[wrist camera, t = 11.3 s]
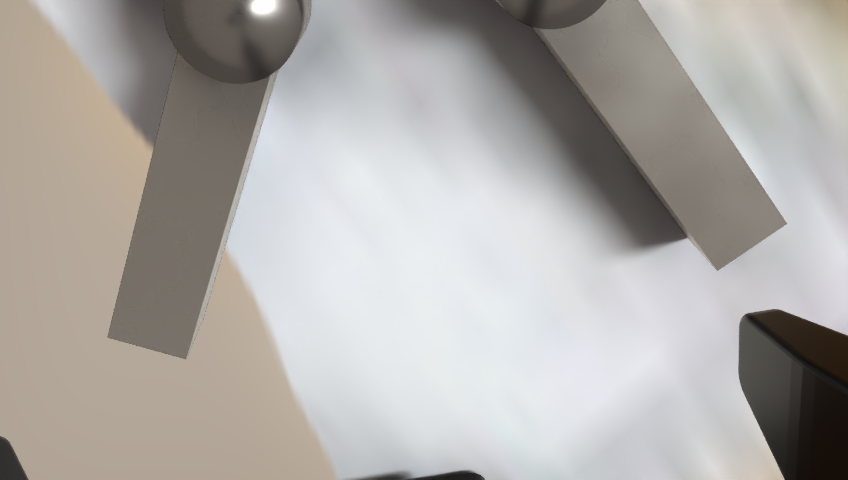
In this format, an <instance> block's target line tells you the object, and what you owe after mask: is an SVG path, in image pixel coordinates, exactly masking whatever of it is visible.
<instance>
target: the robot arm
mask: <svg viewBox="0 0 848 480" xmlns="http://www.w3.org/2000/svg"><path fill="white" fill-rule="evenodd" d="M738 372H739V380H740V384H741V387H742V390H743V393H744V395H745V397H746V399H747V401H748V403H749V405H750V407H751V410H752V412H753V414H754V416H755V418H756V420H757V422H758V424H759V426H760V429H761V431H762V433H763V435H764V437H765V439H766V441H767V443H768V445H769V448H770V450H771V452H772V454H773V456H774V458H775V460H776V462H777V464H778V467H779V469H780V471H781V473H782V475H783V477H784V479H785V480H848V336H847V335H845V334H842V333H839V332H837V331H834V330H832V329H829V328H826V327H824V326H821V325H818V324H816V323H813V322H811V321H808V320H805V319H803V318H800V317H797V316H795V315H792V314H790V313H787V312H784V311H782V310H778V309H771V310H765V311H759V312H753V313H748V314H745V315H744V316H743V317H742V318H741V321H740V325H739V366H738ZM0 480H28V478H27V476H26V474H25V472H24V470H23V468H22V466H21V464H20V462H19V460H18V458H17V456H16V454H15V452H14V450H13V448H12V446H11V444H10V442H9V441H8V440H7V439H5V438H4V437H1V436H0ZM432 480H485V479H484V478H483V477H482V476H481V475H479V474H476V473H470V474H463V475H457V476H451V477H445V478H439V479H432Z"/></svg>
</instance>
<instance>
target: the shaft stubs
mask: <svg viewBox="0 0 848 480" xmlns="http://www.w3.org/2000/svg"><path fill="white" fill-rule="evenodd" d="M495 1H496V2H497V3H498V4H500V5H501V6H502V7H503V8H504V9H505V10H506V11H507V12H508V13H509V14H511V15H512V16H513V17H514V18H516V19H517V20H519V21H520V22H522V23H524V24H526V25H529V26H532V27H533V29H534V30H535V32H536V33H537V34H538V36H539V37H540V38H541V40H542V41H543V42H544V44H545V45H546V46H547V48H548V49H549V50H550V52H551V53H552V55H553V56H554V57H555V59H556V60H557V61H558V63H559V64H560V65H561V67H562V68H563V69H564V71H565V72H566V74H567V75H568V76H569V78H570V79H571V80H572V82H573V83H574V84H575V86H576V87H577V88H578V90H579V91H580V92H581V94H582V95H583V97H584V98H585V99H586V101H587V102H588V103H589V105H590V106H591V107H592V109H593V110H594V111H595V113H596V114H597V116H598V117H599V118H600V120H601V121H602V122H603V124H604V125H605V126H606V128H607V129H608V130H609V132H610V133H611V134H612V136H613V137H614V139H615V140H616V141H617V143H618V144H619V145H620V147H621V148H622V149H623V151H624V152H625V153H626V155H627V156H628V158H629V159H630V160H631V162H632V163H633V164H634V166H635V167H636V168H637V170H638V171H639V172H640V174H641V175H642V177H643V178H644V179H645V181H646V182H647V183H648V185H649V186H650V187H651V189H652V190H653V191H654V193H655V194H656V195H657V197H658V198H659V200H660V201H661V202H662V204H663V205H664V206H665V208H666V209H667V210H668V212H669V213H670V214H671V216H672V217H673V219H674V220H675V221H676V223H677V224H678V225H679V227H680V228H681V229H682V231H683V232H684V233H685V235H686V236H687V237H688V239H689V240H690V241H691V242H692V243H693V244H694V246H695V247H696V248H697V249H698V250H699V251H700V252H701V253H702V254H703V256H704V257H705V258H706V259H707V260H708V261H709V262H710V263H711V264H712V266H713V267H714V268H715V269H716V270H717V271H718V270H719V269H721V268H722V267H724V266H725V265H727V264H728V263H730V262H731V261H733V260H734V259H736V258H737V257H739V256H740V255H742V254H743V253H745V252H746V251H747V250H749V249H750V248H752V247H753V246H755V245H756V244H758V243H759V242H761V241H762V240H764V239H765V238H767V237H768V236H770V235H771V234H773V233H774V232H775V231H777V230H778V229H780V228H781V227H783V226H784V225H786V224H787V223H786V221H785V220H784V218H783V217H782V215H781V214H780V212H779V211H778V209H777V208H776V206H775V205H774V203H773V202H772V200H771V199H770V197H769V196H768V194H767V193H766V191H765V190H764V188H763V187H762V185H761V184H760V182H759V181H758V179H757V178H756V176H755V175H754V173H753V172H752V170H751V169H750V167H749V166H748V164H747V163H746V161H745V160H744V158H743V157H742V155H741V154H740V152H739V151H738V149H737V148H736V146H735V145H734V143H733V142H732V140H731V139H730V137H729V136H728V135H727V133H726V132H725V130H724V129H723V127H722V126H721V124H720V123H719V121H718V120H717V118H716V117H715V115H714V114H713V112H712V111H711V109H710V108H709V106H708V105H707V103H706V102H705V100H704V99H703V97H702V96H701V94H700V93H699V91H698V90H697V88H696V87H695V85H694V84H693V82H692V81H691V79H690V78H689V76H688V75H687V73H686V72H685V70H684V69H683V67H682V66H681V64H680V63H679V61H678V60H677V58H676V57H675V55H674V54H673V52H672V51H671V49H670V48H669V46H668V45H667V43H666V42H665V40H664V39H663V37H662V36H661V34H660V33H659V31H658V30H657V28H656V27H655V25H654V24H653V22H652V21H651V19H650V18H649V16H648V15H647V13H646V12H645V10H644V9H643V7H642V6H641V4H640V3H639V1H638V0H495ZM311 7H312V6H311V0H164V19H165V24H166V28H167V31H168V34H169V37H170V39H171V41H172V43H173V45H174V47H175V48H176V50H177V51H178V53H177V57H176V61H175V65H174V69H173V73H172V77H171V81H170V85H169V89H168V93H167V98H166V102H165V106H164V110H163V114H162V118H161V122H160V126H159V130H158V134H157V138H156V142H155V146H154V150H153V154H152V159H151V162H150V167H149V171H148V175H147V179H146V183H145V187H144V191H143V195H142V199H141V203H140V207H139V211H138V215H137V219H136V224H135V228H134V231H133V236H132V240H131V244H130V248H129V252H128V256H127V260H126V264H125V268H124V272H123V276H122V281H121V285H120V288H119V293H118V297H117V301H116V305H115V309H114V313H113V317H112V321H111V325H110V329H109V333H108V338H111V339H115V340H119V341H122V342H126V343H129V344H133V345H136V346H140V347H144V348H147V349H151V350H154V351H158V352H162V353H165V354H169V355H172V356H176V357H180V358H183V359H186V358H187V356H188V354H189V351H190V349H191V347H192V345H193V342H194V340H195V337H196V335H197V333H198V331H199V328H200V326H201V324H202V321H203V319H204V315H205V312H206V308H207V305H208V302H209V299H210V295H211V292H212V288H213V285H214V282H215V279H216V275H217V271H218V268H219V265H220V262H221V259H222V255H223V252H224V249H225V245H226V242H227V239H228V235H229V232H230V229H231V225H232V222H233V219H234V215H235V212H236V209H237V205H238V202H239V199H240V195H241V192H242V189H243V185H244V182H245V179H246V175H247V172H248V169H249V165H250V162H251V159H252V155H253V152H254V149H255V145H256V142H257V139H258V135H259V132H260V129H261V125H262V122H263V119H264V115H265V112H266V109H267V105H268V102H269V99H270V95H271V92H272V89H273V85H274V82H275V79H276V75H277V72H278V69H280V68H281V66H282V65H283V64H284V63H285V62H286V61H287V60H288V58H289V57H290V55H291V54H292V52H293V50H294V49H295V47H296V45H297V44H298V42H299V40H300V39H301V37H302V35H303V34H304V32H305V30H306V28H307V25H308V23H309V19H310V15H311Z"/></svg>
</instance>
